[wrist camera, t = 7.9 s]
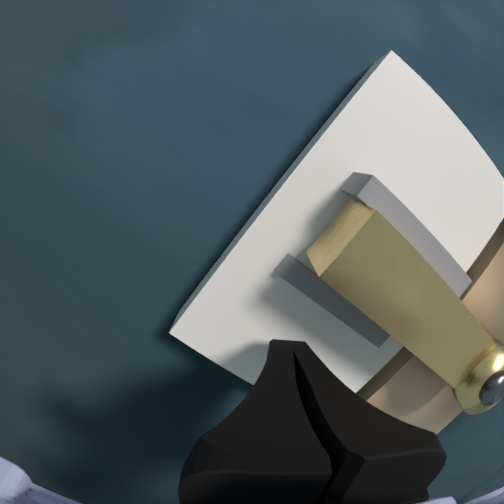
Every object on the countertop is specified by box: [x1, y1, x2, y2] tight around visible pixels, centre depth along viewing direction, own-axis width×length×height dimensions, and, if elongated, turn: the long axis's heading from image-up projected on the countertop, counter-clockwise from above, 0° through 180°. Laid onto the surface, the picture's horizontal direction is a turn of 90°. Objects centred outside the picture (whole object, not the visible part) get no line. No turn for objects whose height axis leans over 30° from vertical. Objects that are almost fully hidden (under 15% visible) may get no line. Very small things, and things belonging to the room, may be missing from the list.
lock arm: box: [306, 198, 504, 415], centre depth 10 cm, size 11×3×4 cm, turn 52°
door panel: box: [169, 50, 504, 393], centre depth 12 cm, size 14×8×4 cm, turn 143°
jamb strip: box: [356, 223, 504, 434], centre depth 14 cm, size 12×7×2 cm, turn 143°
